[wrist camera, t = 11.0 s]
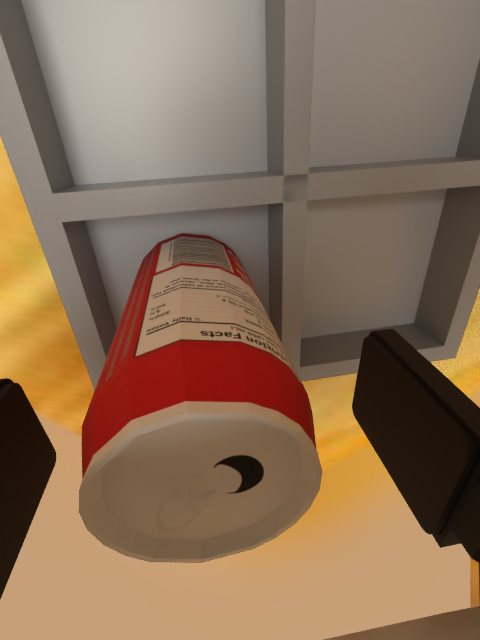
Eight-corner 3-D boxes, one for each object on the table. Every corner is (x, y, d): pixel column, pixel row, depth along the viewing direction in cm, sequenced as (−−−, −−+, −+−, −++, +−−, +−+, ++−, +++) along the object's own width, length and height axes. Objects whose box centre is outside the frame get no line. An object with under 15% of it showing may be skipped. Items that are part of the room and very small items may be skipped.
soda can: (163, 341, 18) (137, 608, 8) (117, 252, 15) (-21, 480, 5) (255, 310, 18) (355, 534, 8) (226, 215, 15) (320, 364, 5)
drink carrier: (535, -134, 12) (657, -231, 9) (417, 328, 22) (455, 357, 18) (-51, -155, 10) (-159, -295, 6) (115, 370, 19) (102, 411, 16)
